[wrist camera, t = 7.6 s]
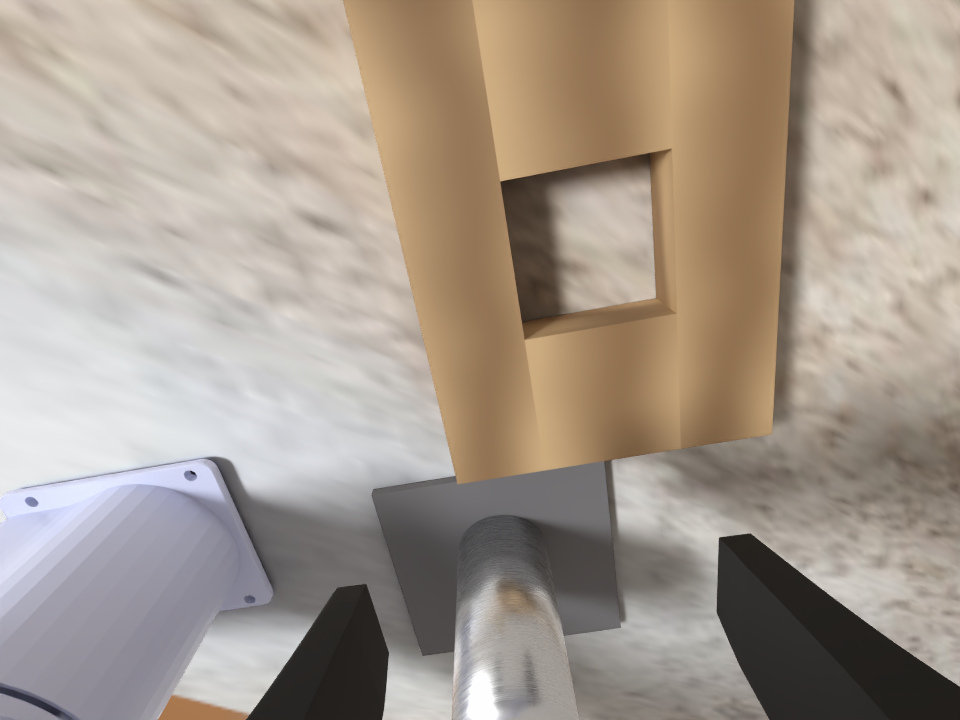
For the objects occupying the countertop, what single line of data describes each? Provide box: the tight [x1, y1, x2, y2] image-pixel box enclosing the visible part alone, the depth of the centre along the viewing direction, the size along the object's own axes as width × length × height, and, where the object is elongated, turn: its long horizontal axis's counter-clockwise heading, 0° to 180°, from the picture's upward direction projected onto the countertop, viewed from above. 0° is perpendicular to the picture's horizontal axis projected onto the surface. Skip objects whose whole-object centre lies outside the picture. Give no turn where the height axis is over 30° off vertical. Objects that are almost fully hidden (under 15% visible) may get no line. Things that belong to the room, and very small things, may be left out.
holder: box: [343, 0, 794, 484], centre depth 17 cm, size 12×16×2 cm
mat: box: [372, 461, 621, 656], centre depth 23 cm, size 10×10×1 cm
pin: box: [452, 515, 580, 720], centre depth 19 cm, size 4×4×8 cm
